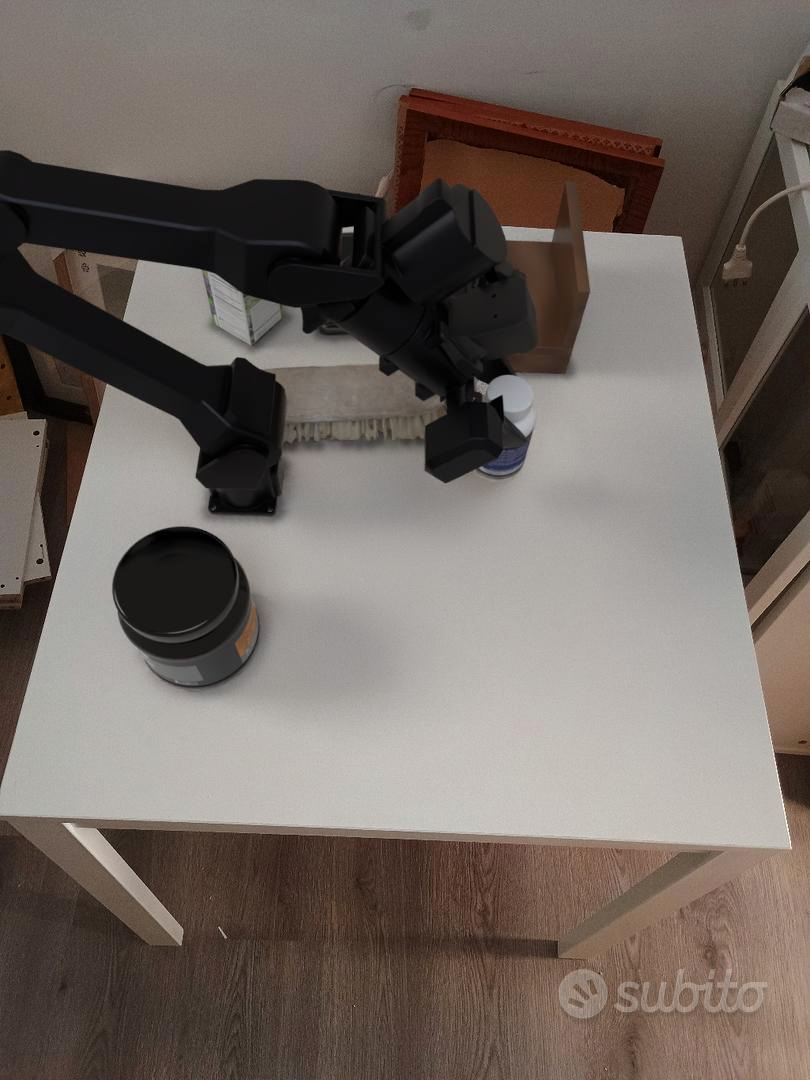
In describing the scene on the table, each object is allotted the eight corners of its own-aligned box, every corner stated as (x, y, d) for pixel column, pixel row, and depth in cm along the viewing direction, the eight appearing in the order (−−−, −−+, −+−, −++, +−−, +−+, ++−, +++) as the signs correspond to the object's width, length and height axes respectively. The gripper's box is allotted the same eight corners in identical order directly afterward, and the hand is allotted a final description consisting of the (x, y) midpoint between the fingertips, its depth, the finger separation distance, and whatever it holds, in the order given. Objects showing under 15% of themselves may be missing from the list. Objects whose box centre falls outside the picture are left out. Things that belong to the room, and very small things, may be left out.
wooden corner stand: (437, 369, 90) (445, 286, 79) (437, 264, 98) (444, 176, 87) (565, 373, 90) (590, 291, 80) (555, 269, 98) (576, 181, 87)
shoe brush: (442, 383, 89) (445, 352, 84) (450, 440, 85) (454, 410, 81) (216, 395, 87) (208, 363, 83) (215, 453, 84) (206, 423, 79)
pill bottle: (535, 467, 77) (556, 401, 68) (488, 493, 75) (503, 429, 67) (500, 427, 79) (517, 358, 71) (454, 451, 78) (465, 384, 69)
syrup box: (246, 295, 94) (226, 185, 82) (286, 318, 93) (272, 210, 80) (212, 324, 92) (186, 216, 79) (253, 349, 90) (233, 243, 78)
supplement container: (275, 595, 76) (258, 530, 66) (245, 704, 71) (222, 653, 61) (164, 576, 77) (130, 509, 66) (126, 683, 72) (83, 629, 61)
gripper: (489, 369, 52) (616, 471, 62) (478, 175, 61) (590, 291, 71) (364, 439, 59) (497, 522, 69) (371, 255, 68) (487, 351, 78)
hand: (520, 416), depth 72 cm, fingers closed on pill bottle, 5 cm apart
